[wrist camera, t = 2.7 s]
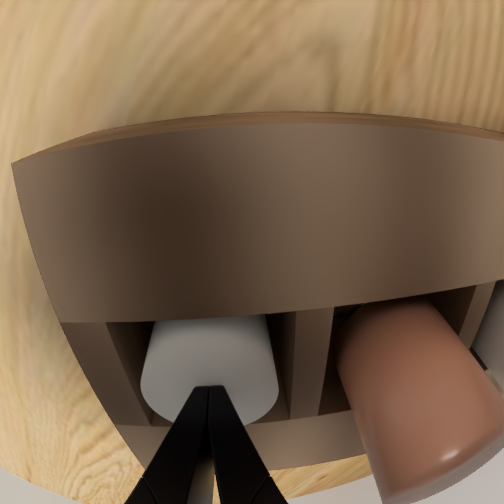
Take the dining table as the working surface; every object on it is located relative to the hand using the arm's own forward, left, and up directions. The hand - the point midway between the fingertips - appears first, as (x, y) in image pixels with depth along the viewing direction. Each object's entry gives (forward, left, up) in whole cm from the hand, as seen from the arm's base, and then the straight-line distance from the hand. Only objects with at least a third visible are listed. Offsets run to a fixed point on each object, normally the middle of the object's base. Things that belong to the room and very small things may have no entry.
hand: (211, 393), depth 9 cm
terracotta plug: (-6, 0, -1) cm, 6 cm away
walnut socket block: (-6, 0, -6) cm, 8 cm away
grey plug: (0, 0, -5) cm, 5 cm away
